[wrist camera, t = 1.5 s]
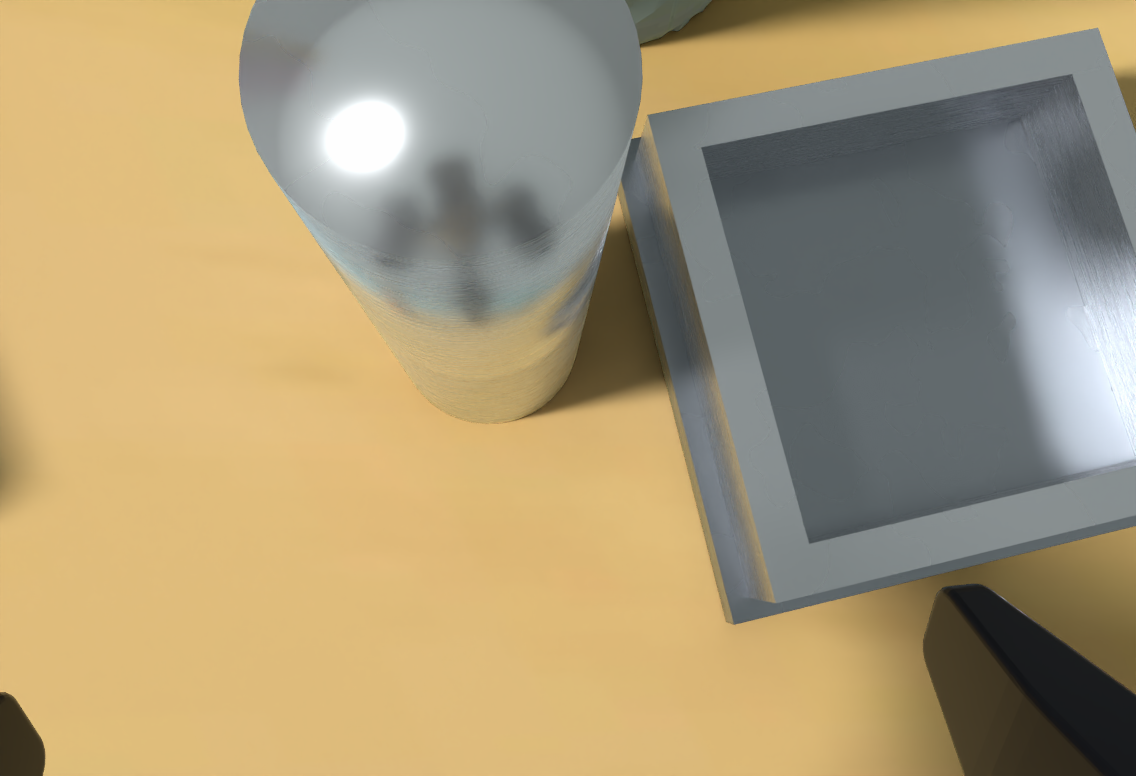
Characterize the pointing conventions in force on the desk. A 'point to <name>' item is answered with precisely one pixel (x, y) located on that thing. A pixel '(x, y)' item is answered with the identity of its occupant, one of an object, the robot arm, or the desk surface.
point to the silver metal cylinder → (453, 173)
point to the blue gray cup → (662, 16)
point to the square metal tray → (896, 316)
